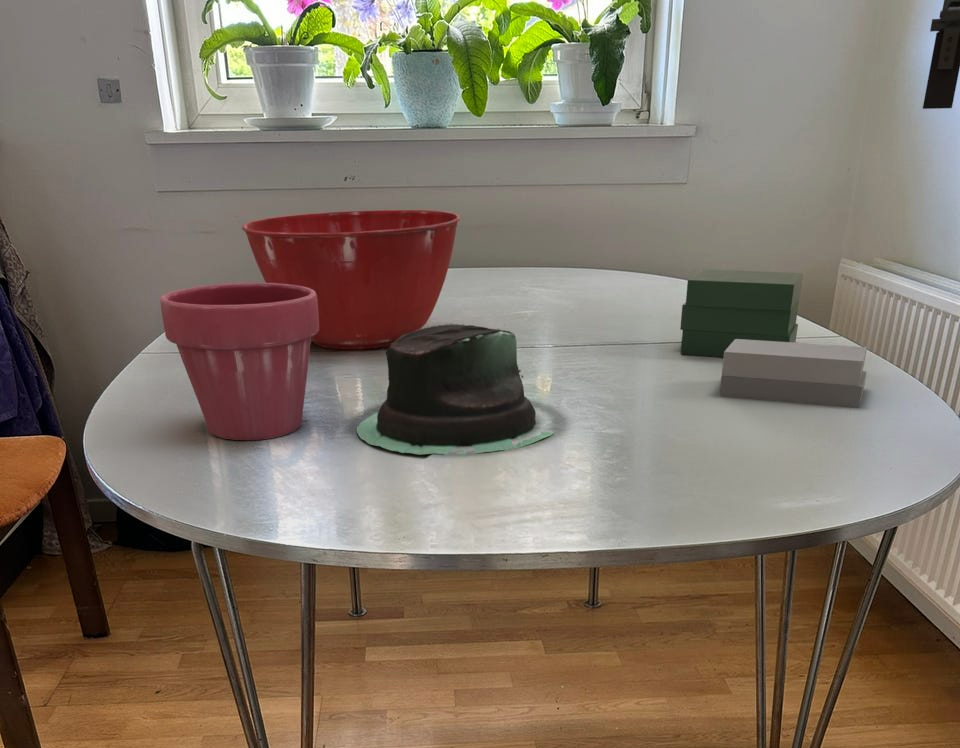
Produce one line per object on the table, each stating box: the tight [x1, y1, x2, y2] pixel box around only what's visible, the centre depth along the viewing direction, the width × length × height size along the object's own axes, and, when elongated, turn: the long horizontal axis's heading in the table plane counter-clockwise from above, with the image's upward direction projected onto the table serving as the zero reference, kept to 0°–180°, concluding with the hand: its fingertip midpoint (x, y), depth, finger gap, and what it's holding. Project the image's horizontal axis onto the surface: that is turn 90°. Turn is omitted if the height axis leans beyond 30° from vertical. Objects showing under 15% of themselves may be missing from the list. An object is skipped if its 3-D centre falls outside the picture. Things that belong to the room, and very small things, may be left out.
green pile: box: [679, 299, 800, 358], centre depth 119 cm, size 13×8×6 cm, turn 67°
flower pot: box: [159, 282, 319, 441], centre depth 91 cm, size 14×14×13 cm
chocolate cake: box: [356, 322, 555, 456], centre depth 91 cm, size 15×19×20 cm
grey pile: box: [718, 339, 868, 409], centre depth 100 cm, size 14×7×5 cm, turn 67°
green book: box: [685, 268, 804, 311], centre depth 117 cm, size 12×10×3 cm
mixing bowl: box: [241, 209, 461, 350], centre depth 127 cm, size 28×28×15 cm
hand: (936, 109), depth 101 cm, fingers open, 13 cm apart
